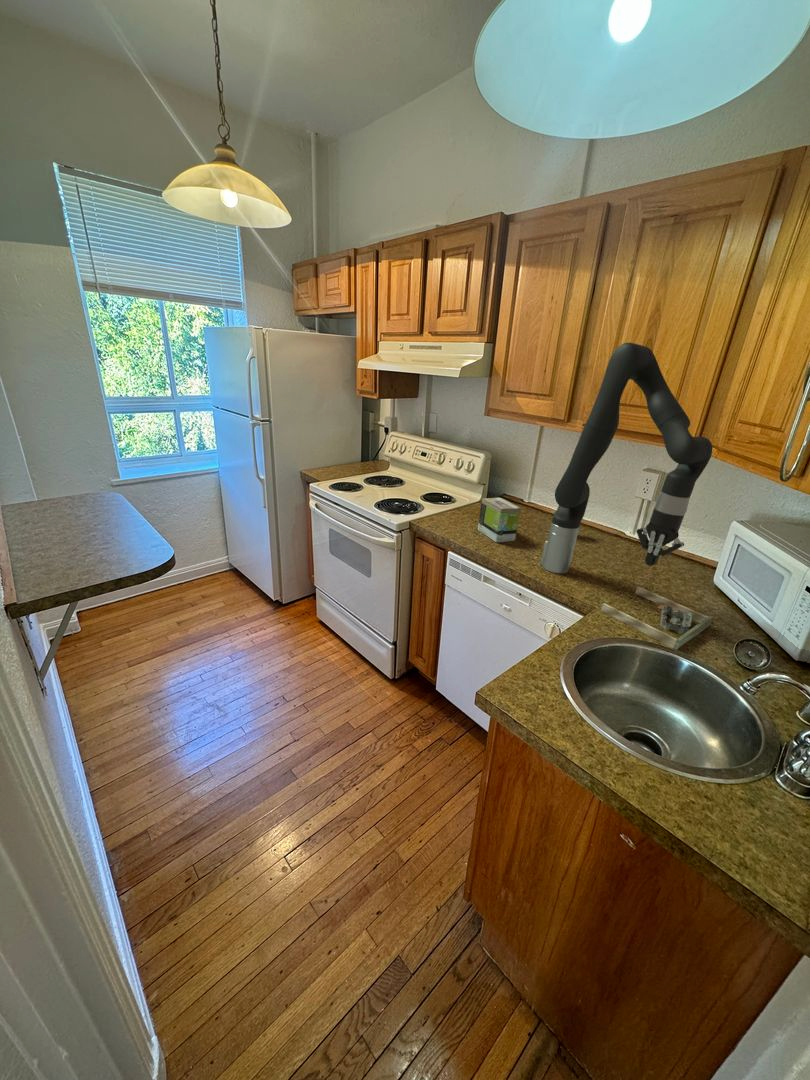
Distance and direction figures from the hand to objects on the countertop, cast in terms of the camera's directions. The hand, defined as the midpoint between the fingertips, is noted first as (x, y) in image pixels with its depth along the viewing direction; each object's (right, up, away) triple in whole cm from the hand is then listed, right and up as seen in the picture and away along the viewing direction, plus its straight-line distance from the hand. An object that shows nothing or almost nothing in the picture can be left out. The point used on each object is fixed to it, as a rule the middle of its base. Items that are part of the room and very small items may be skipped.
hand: (649, 564), depth 124 cm
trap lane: (+2, -16, +2) cm, 16 cm away
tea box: (-33, +9, +56) cm, 66 cm away
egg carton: (+7, -18, 0) cm, 19 cm away
